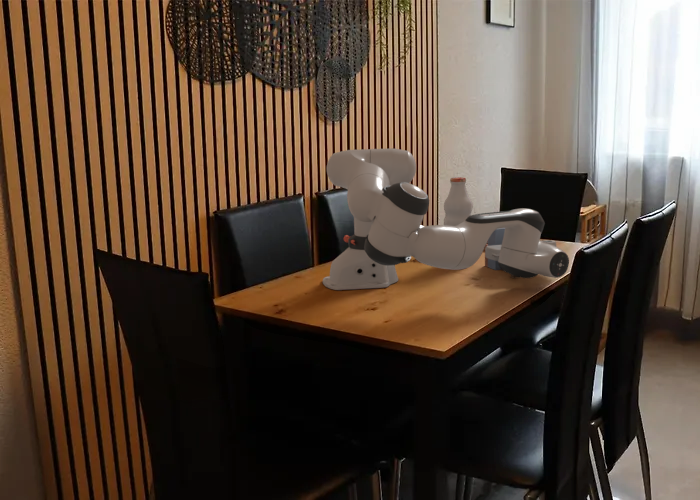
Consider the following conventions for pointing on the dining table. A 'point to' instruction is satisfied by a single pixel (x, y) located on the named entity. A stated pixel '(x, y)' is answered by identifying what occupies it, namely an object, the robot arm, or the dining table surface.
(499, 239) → the block
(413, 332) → the dining table surface
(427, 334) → the dining table surface
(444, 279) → the dining table surface
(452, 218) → the fruit juice
